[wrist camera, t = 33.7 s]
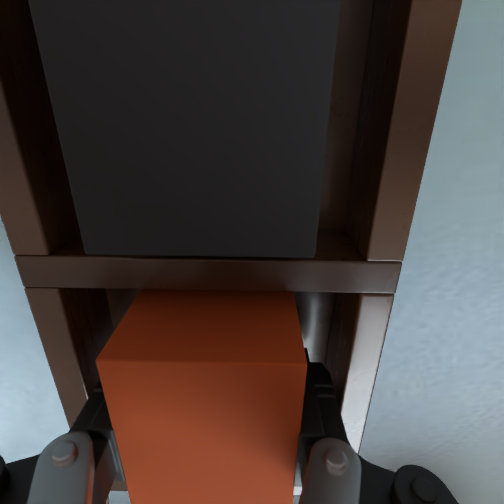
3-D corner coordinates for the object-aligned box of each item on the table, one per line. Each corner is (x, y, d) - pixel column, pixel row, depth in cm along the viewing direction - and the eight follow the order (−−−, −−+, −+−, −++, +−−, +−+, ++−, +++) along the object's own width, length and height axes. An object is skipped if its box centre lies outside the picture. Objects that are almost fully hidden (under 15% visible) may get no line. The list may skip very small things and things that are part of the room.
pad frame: (-22, -171, 7) (-181, -329, 5) (436, -170, 7) (539, -331, 5) (118, 426, 16) (89, 491, 13) (333, 430, 15) (349, 497, 13)
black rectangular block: (106, -78, 8) (-31, -248, 4) (314, -77, 8) (366, -249, 4) (144, 205, 11) (84, 255, 7) (295, 207, 10) (315, 259, 7)
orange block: (148, 277, 11) (94, 359, 7) (291, 280, 11) (307, 364, 7) (167, 417, 14) (135, 525, 10) (281, 419, 14) (290, 530, 10)
